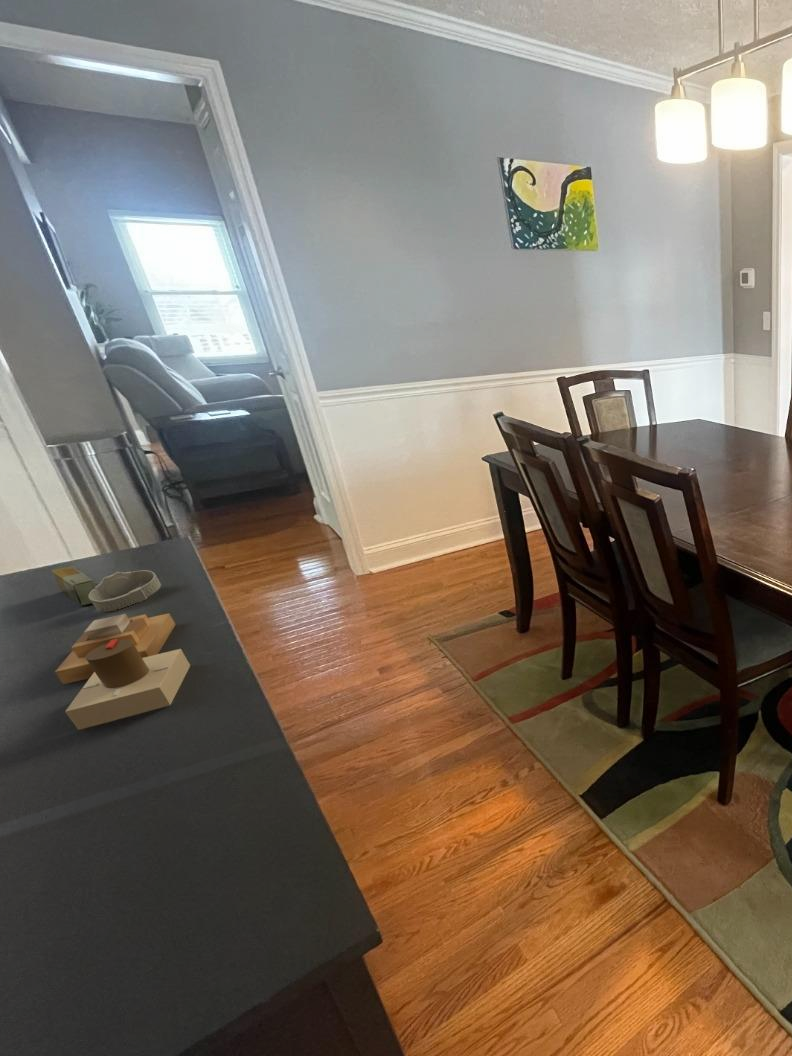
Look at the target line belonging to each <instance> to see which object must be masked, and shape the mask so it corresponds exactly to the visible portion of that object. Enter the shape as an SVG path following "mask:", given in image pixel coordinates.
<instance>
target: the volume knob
mask: <svg viewBox="0 0 792 1056" xmlns="http://www.w3.org/2000/svg"><path fill="white" fill-rule="evenodd" d="M85 658H86V660H87V661H88V663H89V664H90V666H91V667H92V669H93V670H94V672H95V673H96V675H97V676H98V678H99V679H100V681H101V682H102V684H103V685H104V686H105V687H107V688H115V687H120V686H124V685H127V684H130V683H132V682H135V681H137V680H139V679H140V678H142V677H143V676H145V675H146V674H147V673H148V671H149V669H148V667H147V665H146V664H145V662H144V660H143V659H142V657H141V655H140V654H139V652H138V651H137V649H136V647H135V646H134V644H133V642H132V641H130V640H119V641H118V640H117V639H114V640H111V641H110V642H109V643H107V644H104V645H102V646H99V647H97V648H95V649H93V650H92V651H90V652H89V653H88V654H87V655H86V657H85Z"/></svg>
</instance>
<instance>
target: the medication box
mask: <svg viewBox="0 0 792 1056" xmlns="http://www.w3.org/2000/svg"><path fill="white" fill-rule="evenodd" d="M51 573H52V575H53V577H54V579H55V582H56V584H57V587H58V589H59V590H60V591H61V592H62V593H63V594H65V595H66V596H68V598H70V599H72V600H73V601H74V602H75V603H76V604H78V605H79V606H80V607H85V606H90V605H93V603H92V602H91V600H90V599H89V597H88V596H89V593H90V592H91V591H92V590H93V589H96V588H95V587H96V586H97V585H96V583H95V580H93V579H92V578H90V577H88V576H87V575H86V574H84V573H82V572H81V571H79V570H78V569H76V568H75V567H74V566H72V565H70V566H66V567H59V568H57V569H56V568H55V569H52V570H51Z"/></svg>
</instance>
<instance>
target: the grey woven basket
mask: <svg viewBox="0 0 792 1056" xmlns="http://www.w3.org/2000/svg"><path fill="white" fill-rule="evenodd" d="M143 584H144V585H143ZM140 585H142V586H140ZM95 586H96V587H95V588H96V589H93V590H92V591H91V592H90V593H89V596H88V597H89V599H90V600H91V602H92V603H93V604H92V605H93V607H94V608H95V610H97V611H98V612H103V613H108V612H114V611H115V612H116V611H118V610H117V609H119V610H122V609H121V608H123V609H125V608H124V607H126V608H128V607H127V606H129V607H131V606H133V605H132V604H134V605H136V604H137V603H136V602H140V603H142V602H144V601H143V600H145V601H147V600H148V599H147V598H149V597H151V596H152V595H154V594H156V592H158V591H159V590H160V589H161V586H162V584H161V582H160V580H159V578H158V577H157V575H156V573H155V572H154V571H152V570H148V569H141V570H134V571H126V572H124V571H123V572H120V571H116V572H114V573H113V574H110V575H108V576H104V577H102V578H101V580H100V582H99V583H98V584H97V585H95ZM146 599H147V600H146ZM141 601H142V602H141ZM135 603H136V604H135ZM130 605H131V606H130Z"/></svg>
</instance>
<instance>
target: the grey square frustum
mask: <svg viewBox="0 0 792 1056" xmlns="http://www.w3.org/2000/svg"><path fill="white" fill-rule="evenodd" d="M128 618H129V617H128V615H127V614H126V613H122V614H118V615H113V616H109V617H104V618H99V619H95V620H93V621H92V622H91V623H90V624H89V625H88V627H87V628H86V629H85V630H84V631H83V633H85V634H86V636H87V637H88V639H89V640H94V639H98V638H102V637H107V636H111V635H116V634H120V633H124V631H125V630H126V629H127V627H128V626H129V625H130V623H131V622H130V621H129V619H128Z"/></svg>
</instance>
